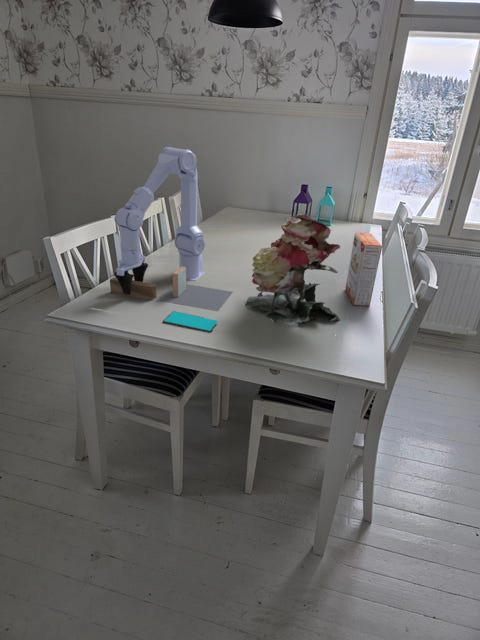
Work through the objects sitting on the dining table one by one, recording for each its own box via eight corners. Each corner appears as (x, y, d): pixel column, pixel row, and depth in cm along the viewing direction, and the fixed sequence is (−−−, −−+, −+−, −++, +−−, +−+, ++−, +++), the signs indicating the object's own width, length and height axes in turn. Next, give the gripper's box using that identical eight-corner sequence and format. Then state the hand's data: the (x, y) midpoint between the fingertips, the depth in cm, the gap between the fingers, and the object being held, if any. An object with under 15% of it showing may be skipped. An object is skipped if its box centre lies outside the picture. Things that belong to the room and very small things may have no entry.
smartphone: (211, 331, 117) (162, 321, 121) (211, 334, 118) (162, 323, 121) (220, 320, 123) (173, 310, 127) (220, 323, 124) (173, 313, 128)
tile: (181, 288, 142) (181, 266, 139) (186, 289, 142) (186, 267, 138) (173, 296, 136) (172, 273, 133) (178, 297, 136) (177, 274, 132)
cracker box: (343, 289, 152) (354, 231, 142) (360, 290, 152) (372, 232, 142) (351, 305, 139) (363, 244, 130) (370, 306, 139) (383, 245, 130)
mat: (178, 283, 147) (178, 282, 147) (233, 292, 143) (233, 291, 143) (157, 301, 133) (157, 300, 133) (217, 312, 129) (218, 311, 129)
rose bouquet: (289, 285, 151) (299, 200, 138) (348, 319, 130) (367, 222, 116) (228, 298, 139) (232, 206, 125) (282, 338, 117) (295, 231, 103)
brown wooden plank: (115, 291, 139) (113, 277, 137) (156, 298, 136) (156, 284, 133) (110, 294, 137) (109, 279, 135) (152, 301, 134) (152, 287, 131)
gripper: (130, 240, 136) (132, 279, 142) (105, 253, 124) (109, 295, 130) (150, 243, 135) (152, 283, 141) (127, 256, 122) (130, 299, 128)
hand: (133, 289), depth 135 cm, fingers open, 7 cm apart
